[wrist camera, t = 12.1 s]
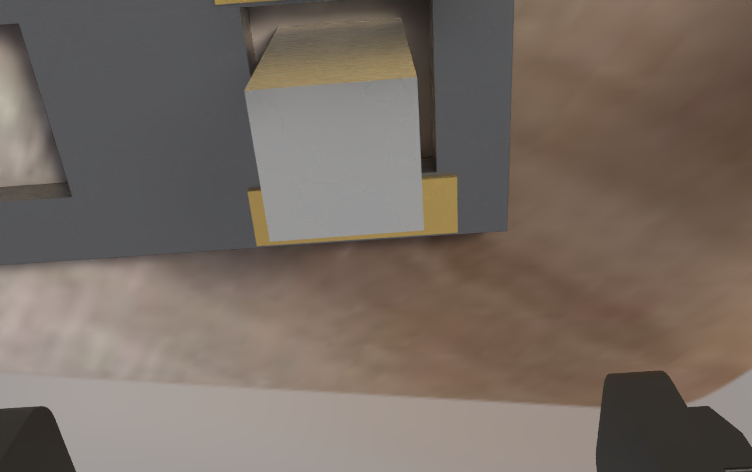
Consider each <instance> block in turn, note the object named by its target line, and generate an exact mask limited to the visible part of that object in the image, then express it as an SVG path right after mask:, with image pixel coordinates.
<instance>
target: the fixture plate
mask: <svg viewBox="0 0 752 472" xmlns="http://www.w3.org/2000/svg"><path fill="white" fill-rule="evenodd" d="M323 1H337V0H0V25H3V24H17V23H19V26H20V29H21V32H22V36H23V39H24V42H25V45H26V49H27V52H28V55H29V58H30V62H31V65H32V68H33V71H34V74H35V78H36V81H37V84H38V87H39V91H40V94H41V97H42V100H43V104H44V107H45V110H46V113H47V116H48V120H49V123H50V126H51V129H52V133H53V136H54V139H55V142H56V146H57V149H58V152H59V155H60V158H61V162H62V165H63V168H64V171H65V175H66V178H67V181H68V183H55V184H41V185H26V186H12V187H0V265H8V264H22V263H37V262H52V261H67V260H82V259H97V258H112V257H127V256H141V255H156V254H171V253H186V252H201V251H216V250H231V249H245V248H260V247H275V246H290V245H305V244H320V243H335V242H350V241H364V240H379V239H394V238H409V237H424V236H439V235H454V234H469V233H483V232H498V231H507V215H508V183H509V151H510V119H511V86H512V54H513V22H514V0H429V24H430V61H431V98H432V136H433V158H421V174H422V196H423V218H424V230H422V231H408V232H395V233H381V234H368V235H354V236H341V237H327V238H314V239H300V240H287V241H273V242H270V239H269V233H268V228H267V222H266V216H265V210H264V204H263V198H262V192H261V186H260V181H259V175H258V169H257V163H256V157H255V151H254V145H253V139H252V134H251V128H250V122H249V116H248V110H247V104H246V98H245V92H244V90H245V88H246V86H247V84H248V83H249V81H250V79H251V77H252V75H253V73H254V71H255V69H256V62H255V55H254V49H253V42H252V36H251V29H250V22H249V16H248V9H247V7H253V6H267V5H281V4H295V3H309V2H323Z"/></svg>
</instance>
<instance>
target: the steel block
mask: <svg viewBox="0 0 752 472" xmlns="http://www.w3.org/2000/svg"><path fill="white" fill-rule="evenodd" d="M244 92H245V98H246V104H247V110H248V116H249V122H250V128H251V134H252V139H253V145H254V151H255V157H256V163H257V169H258V175H259V181H260V186H261V192H262V198H263V204H264V210H265V216H266V222H267V228H268V233H269V239H270V242H273V241H287V240H300V239H314V238H327V237H341V236H354V235H368V234H381V233H395V232H408V231H422V230H424V218H423V196H422V174H421V151H420V129H419V107H418V85H417V75H416V71H415V67H414V64H413V60H412V56H411V52H410V49H409V45H408V41H407V38H406V34H405V30H404V26H403V23H402V19H401V18H389V19H377V20H364V21H352V22H339V23H327V24H315V25H302V26H290V27H278V28H277V30H276V32H275V33H274V35H273V37H272V39H271V41H270V43H269V45H268V47H267V49H266V50H265V52H264V54H263V56H262V58H261V60H260V62H259V64H258V66H257V67H256V69H255V71H254V73H253V75H252V77H251V79H250V81H249V83H248V84H247V86H246V88H245V90H244Z"/></svg>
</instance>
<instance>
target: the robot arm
mask: <svg viewBox="0 0 752 472" xmlns="http://www.w3.org/2000/svg"><path fill="white" fill-rule="evenodd" d="M596 466H597V472H752V447H751V446H750V444H749V443H748V441H747V439H746V438H745V437H744V435H743V433H742V432H740V431H739V430H738V429H737V428H735V427H734V426H733V425H732V424H730V423H729V422H728V421H727V420H725V419H724V418H723V417H722V416H720V415H719V414H718V413H716V412H715V411H714V410H713V409H711V408H710V407H709V406H701V407H687V406H686V404H685V402H684V400H683V399H682V397H681V395H680V394H679V392H678V390H677V389H676V387H675V385H674V384H673V382H672V380H671V379H670V377H669V376H668V375H667V374H666V373H665V372H664V371H646V372H630V373H613V374H608V375H607V376H606V378H605V381H604V387H603V396H602V404H601V413H600V421H599V431H598V439H597V447H596ZM0 472H76V471H75V468H74V466H73V463H72V461H71V458H70V456H69V453H68V451H67V448H66V445H65V443H64V440H63V438H62V436H61V433H60V430H59V428H58V425H57V423H56V420H55V418H54V416H53V414H52V412H51V411H50V410H49V409H48V408H46V407H42V406H40V407H22V408H6V409H0Z"/></svg>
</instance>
